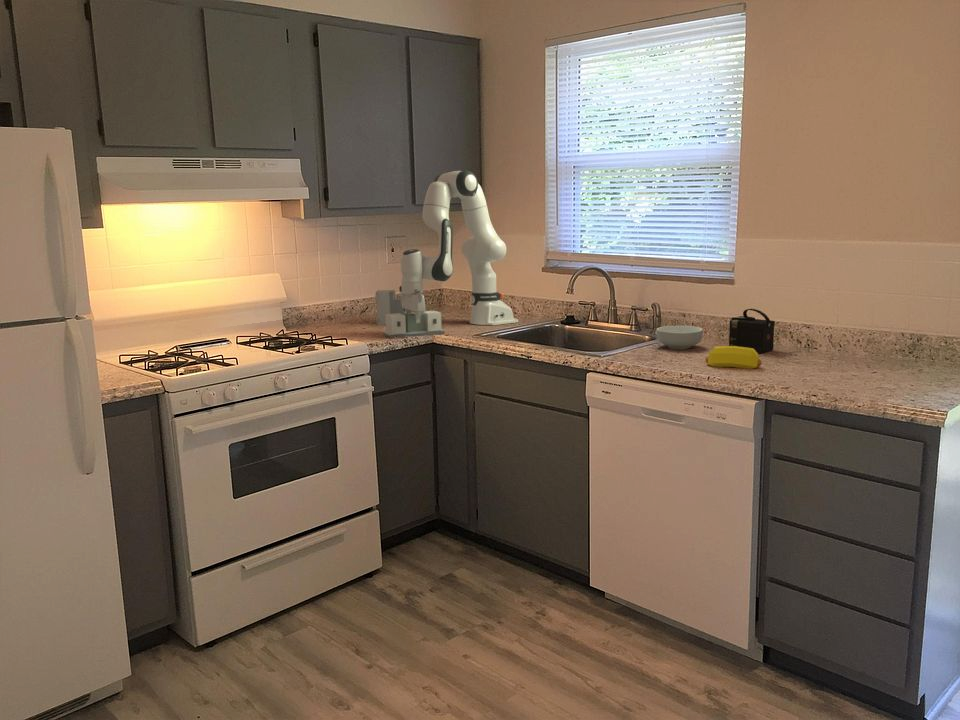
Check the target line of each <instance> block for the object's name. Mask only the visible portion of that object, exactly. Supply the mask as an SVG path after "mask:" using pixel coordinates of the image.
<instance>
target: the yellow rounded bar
mask: <svg viewBox="0 0 960 720" xmlns="http://www.w3.org/2000/svg"><path fill="white" fill-rule="evenodd" d="M704 361H705V363H706V364H707V365H708V366H710V367H714V368H715V367H716V368H717V367H718V368H730V367H731V368H736V369H737V368H739V369H746V370H747V369H749V370H754V369H755V368H759V367H761V365H762V364H763V363H762V359H760V358H759V353H757V352H756V351H755V350H754V348H746V347H738V346H729V345H723V346H721V345H720V346H719V345H718V346H715V347H713V348H712V350H710V351H709V353H708V355H707V356H706V357H705V359H704Z"/></svg>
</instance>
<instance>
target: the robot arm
mask: <svg viewBox="0 0 960 720" xmlns="http://www.w3.org/2000/svg"><path fill="white" fill-rule="evenodd" d="M452 198H459V199H460V203H461V210H462V213H463V218H464V223H465V227H466V229H468V231H470V233H471V234H472V237H469V238H467V239H465V240H464V241H463V243H462V245H461V252H462V255H463V256H464V258H465V259H466V261H467V263H468V266H469V269H470V273H471V289H472V292H471V296H470V298H471V314H470V319H469V324H472V325H478V326H479V325H480V326H481V325H482V326H483V325H484V326H485V325H487V326H498V325H507V324H513V323H514V324H516V323H518V322H519V319H517V318H516V317H514V312H513V309H512V308H511V306H508V304H506V303H505V302H504V301H503V300H501V298H504V296H505V293H503V292H498V291H497V287H498V286H497V273H496V272H495V271H494V270H493V268H492V265H491V263H495V262H499V261H502V260H503V259H504V258H505V257H506V255H507V249H508V248H507V245H506V243H505V242H504V241H503V240H502V239H501V238H500V237H499V235H498V233H497V232H496V230H495V228H494V226H493V223H492V221H491V218H490V213H489V209H488V204H487V200H486V196H485V194H484V191H483V188H482V186H481V185H480V184H479V182H478V178H477V176H476V175H475V174H474V173H473V172H472V171H470V170H453V171H449V172H443V173H439V174H438V175H437V176H435V178H434V180H433V182H431V183H430V184H429V185H428V188H427V191H426V194H425V197H424V202H423V205H422V207H423V208H422V220H423V223H424V224H425V225H426V226H427V227H428V228H429V229H432V230H434V231H435V232H436V233H437V235H438V254H437V256H428V255H425V254H424V253H423V252H421V250H420V249H417V248H416V249H415V248H414V249H413V248H412V249H408V250H405V251H404V252H403V253H402V254H401V259H400V260H401V261H400V265H401V266H400V267H401V268H400V271H401V276H402V279H401V285H400V286H399V287H398V291H399V292H400V294H399V296H400V297H399V298H401V306H402V308H403V309H405V313H415V315H416V317H415V323H420V317H421V313H424V312H425V311H426V300H425V296H424V294H422V293H424V280H430V281H431V280H432V281H437V282H446V281H448V280H449V279H450V278H451V277H452V275H453V273H454V262H453V241H454V240H453V239H454V238H453V236H454V235H453V233H454V232H453V223H452V222H451V221H450V218H449V217H450V216H449V215H450V214H449V213H450V206H451V205H450V204H451V200H452Z"/></svg>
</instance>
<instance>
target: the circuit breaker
mask: <svg viewBox="0 0 960 720" xmlns="http://www.w3.org/2000/svg"><path fill="white" fill-rule="evenodd" d="M374 296H375V300H374V301H375V302H376V303H377V313H376V315H375V319H376V320H375V322H376V323H375V324H376V325H386V318H385V314H395V313H400V314H403V315H404V313H406V309H403V308H402V306H401V297H396V289H386V290H385V289H383V290H382V289H381V290H378V289H377V291H375V295H374Z"/></svg>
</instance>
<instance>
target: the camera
mask: <svg viewBox="0 0 960 720" xmlns="http://www.w3.org/2000/svg"><path fill="white" fill-rule="evenodd" d="M748 311H753V312H755V313H758V314H759V315H760V316H762V317H763V318H764V319H761V318H760V319H759V318H755V317H753V316H748V314H747V313H748ZM775 326H776V321H775V320H770V318H769V317H768V315H767V314H766V313H764V312H763V311H761V310H759V309H755V308H747V309H745V310H743V312H742V315H739V316H735V317H731V320H729V329H728V330H729V333H728V346H738V347H746V348H754V350H755V351H756V352H757V353H758V354H764V353H768V352H772V351H774V346H775V345H774V341H775V340H774V339H775Z"/></svg>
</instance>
